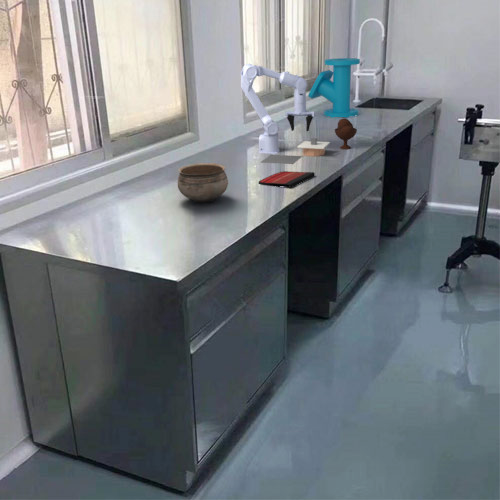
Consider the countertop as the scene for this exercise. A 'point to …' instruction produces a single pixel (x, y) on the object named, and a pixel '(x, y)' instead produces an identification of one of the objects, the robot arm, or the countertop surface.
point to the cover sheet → (313, 144)
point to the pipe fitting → (336, 87)
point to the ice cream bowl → (345, 132)
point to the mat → (281, 159)
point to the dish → (313, 152)
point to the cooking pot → (202, 181)
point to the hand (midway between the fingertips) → (300, 130)
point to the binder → (286, 178)
